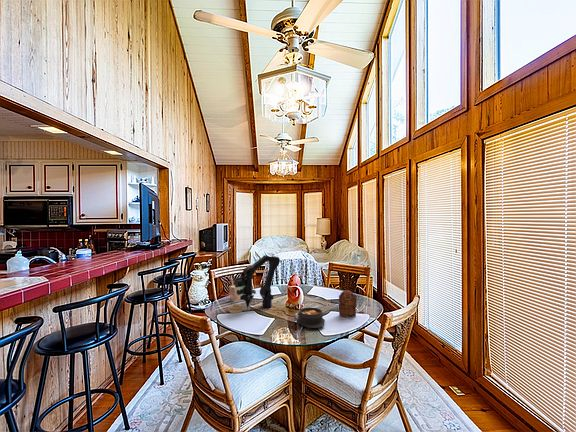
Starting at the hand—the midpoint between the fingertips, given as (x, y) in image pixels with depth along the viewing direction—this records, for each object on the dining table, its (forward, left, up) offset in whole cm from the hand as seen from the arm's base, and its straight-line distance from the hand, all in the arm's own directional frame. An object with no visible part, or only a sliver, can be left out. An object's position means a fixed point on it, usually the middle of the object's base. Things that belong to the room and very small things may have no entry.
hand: (248, 306), depth 228 cm
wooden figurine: (-72, -1, -4) cm, 72 cm away
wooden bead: (+10, 0, -4) cm, 11 cm away
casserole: (-48, +17, -4) cm, 51 cm away
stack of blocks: (+17, -31, -4) cm, 36 cm away
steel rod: (0, 0, -2) cm, 2 cm away
